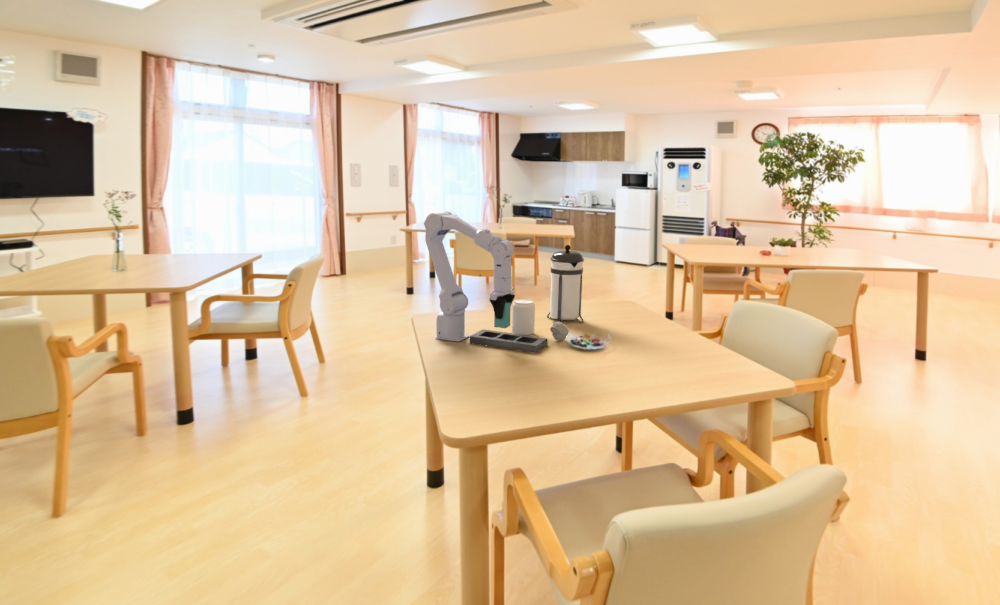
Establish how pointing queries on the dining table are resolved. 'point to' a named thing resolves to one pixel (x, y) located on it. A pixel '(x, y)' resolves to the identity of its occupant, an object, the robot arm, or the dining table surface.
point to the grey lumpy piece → (559, 331)
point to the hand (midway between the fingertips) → (502, 317)
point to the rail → (509, 341)
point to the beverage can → (523, 317)
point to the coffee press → (566, 285)
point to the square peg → (506, 317)
